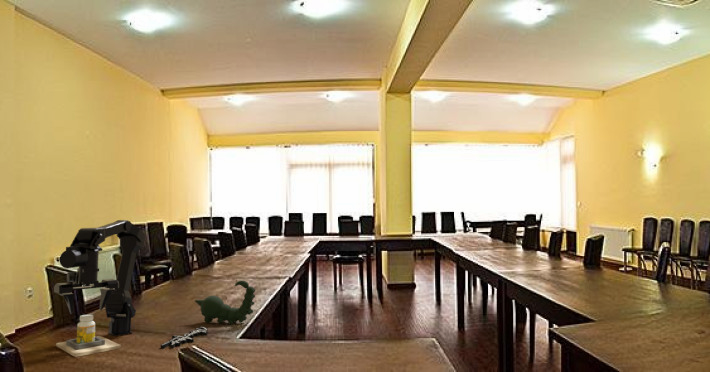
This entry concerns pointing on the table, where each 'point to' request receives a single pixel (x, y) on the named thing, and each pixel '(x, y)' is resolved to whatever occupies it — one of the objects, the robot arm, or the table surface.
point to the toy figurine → (227, 307)
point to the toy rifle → (185, 338)
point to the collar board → (88, 346)
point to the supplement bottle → (85, 329)
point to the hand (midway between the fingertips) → (86, 311)
